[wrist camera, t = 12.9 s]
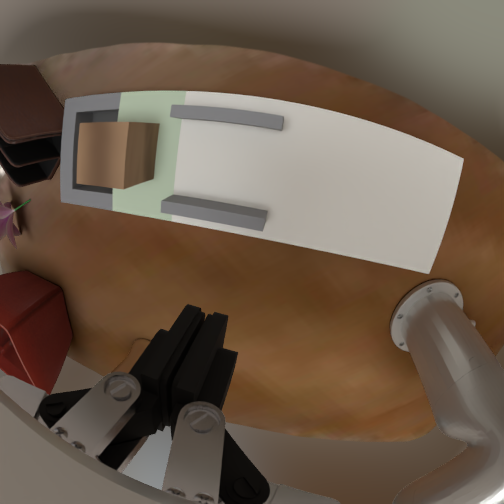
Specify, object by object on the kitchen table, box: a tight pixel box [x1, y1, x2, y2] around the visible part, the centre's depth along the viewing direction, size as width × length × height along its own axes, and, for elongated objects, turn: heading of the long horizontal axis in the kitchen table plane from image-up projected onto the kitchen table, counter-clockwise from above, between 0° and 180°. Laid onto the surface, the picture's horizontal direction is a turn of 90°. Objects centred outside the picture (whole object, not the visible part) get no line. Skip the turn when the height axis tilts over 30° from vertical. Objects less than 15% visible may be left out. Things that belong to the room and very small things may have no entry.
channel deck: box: [60, 91, 464, 274], centre depth 26 cm, size 48×14×7 cm, turn 81°
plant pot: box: [0, 271, 73, 395], centre depth 36 cm, size 19×19×17 cm
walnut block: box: [77, 122, 160, 190], centre depth 23 cm, size 6×6×6 cm
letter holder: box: [0, 64, 64, 187], centre depth 23 cm, size 10×20×14 cm, turn 40°
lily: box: [0, 199, 31, 249], centre depth 33 cm, size 12×12×10 cm
